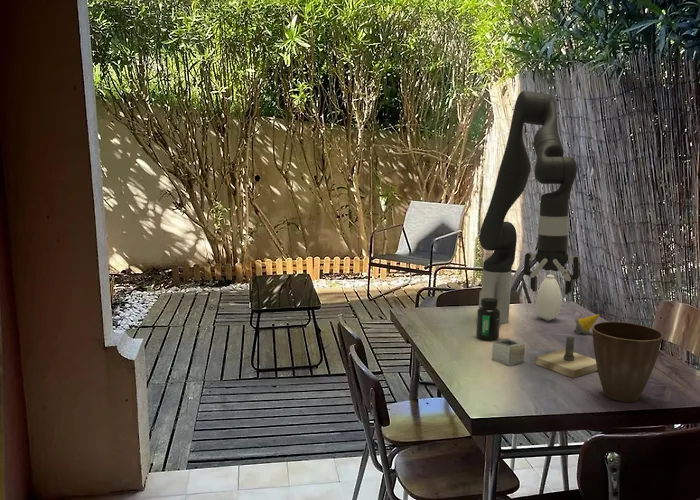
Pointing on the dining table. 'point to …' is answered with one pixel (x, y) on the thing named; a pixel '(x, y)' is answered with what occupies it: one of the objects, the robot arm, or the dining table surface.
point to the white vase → (549, 298)
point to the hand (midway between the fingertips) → (550, 292)
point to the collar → (508, 351)
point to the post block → (567, 361)
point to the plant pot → (625, 358)
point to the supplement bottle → (488, 320)
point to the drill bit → (585, 324)
